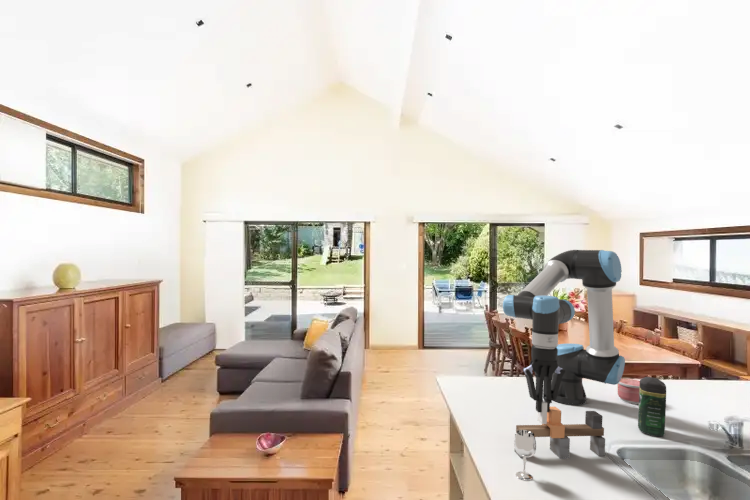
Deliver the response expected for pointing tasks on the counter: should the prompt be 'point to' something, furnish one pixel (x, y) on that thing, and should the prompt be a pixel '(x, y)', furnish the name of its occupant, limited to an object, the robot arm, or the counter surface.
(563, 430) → the rider
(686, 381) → the counter surface
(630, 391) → the container
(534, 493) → the counter surface
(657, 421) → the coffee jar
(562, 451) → the beam
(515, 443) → the wineglass
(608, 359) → the robot arm
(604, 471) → the counter surface
